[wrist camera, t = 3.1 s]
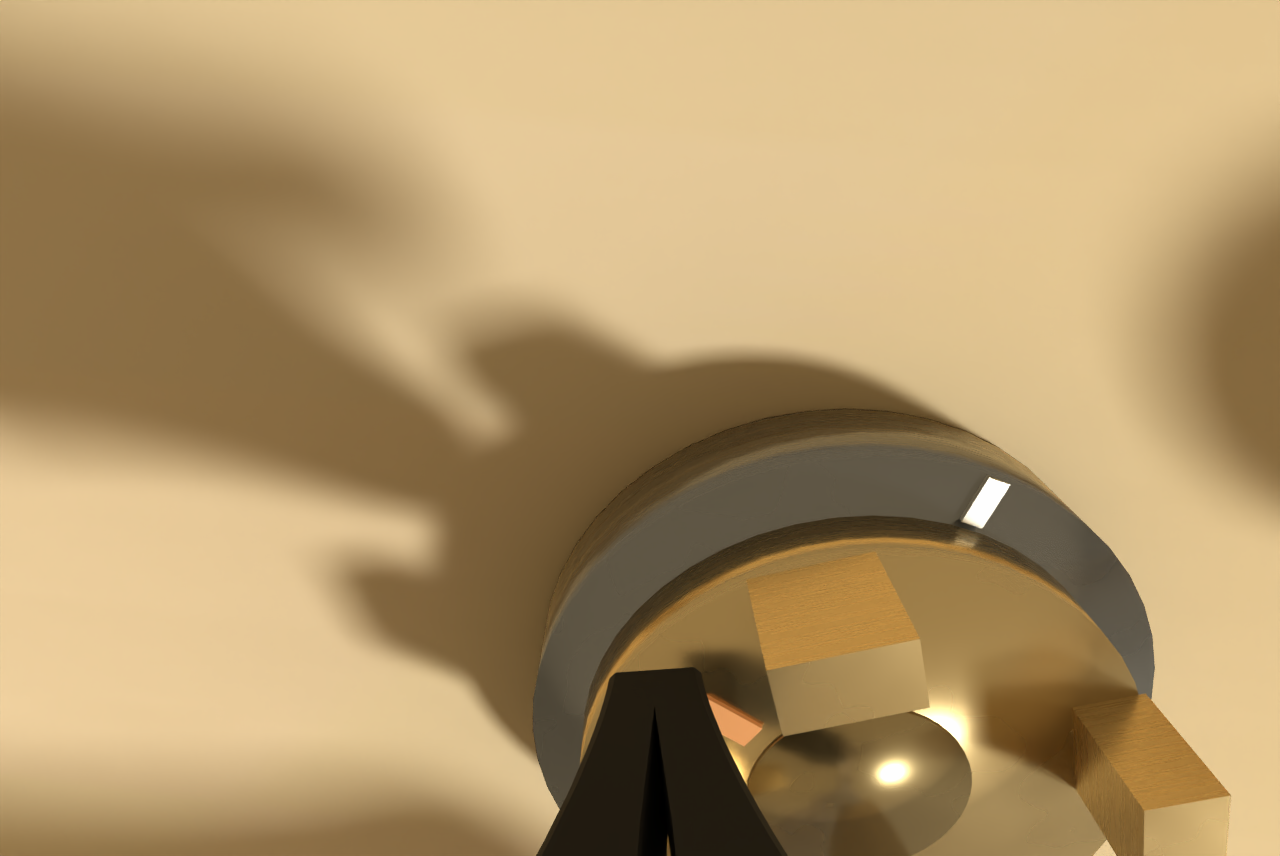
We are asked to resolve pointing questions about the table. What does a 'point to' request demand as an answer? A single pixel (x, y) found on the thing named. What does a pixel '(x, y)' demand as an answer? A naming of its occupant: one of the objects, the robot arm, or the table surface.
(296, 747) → the table surface
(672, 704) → the robot arm
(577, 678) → the cap base
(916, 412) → the table surface
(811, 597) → the brass lugged disc
